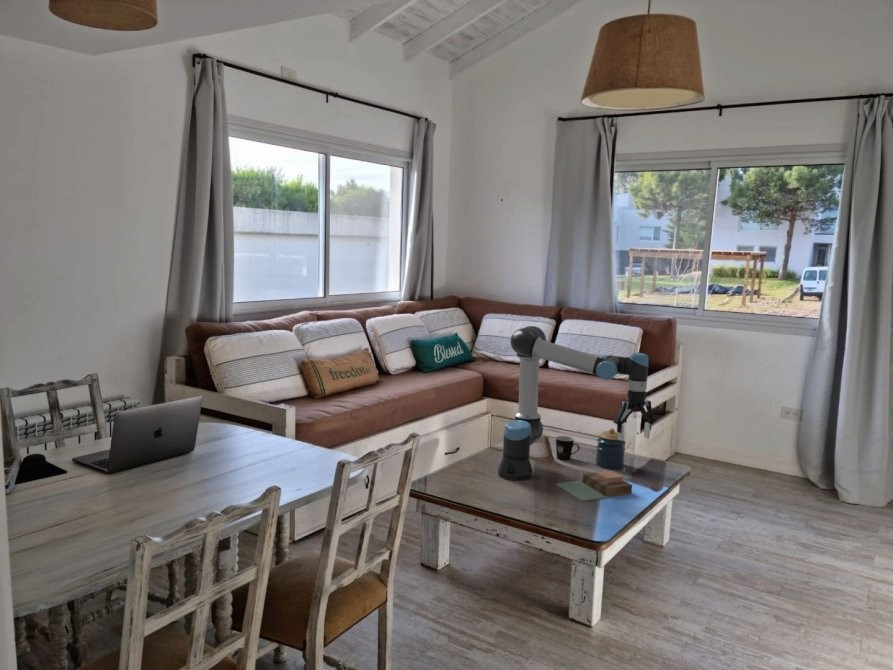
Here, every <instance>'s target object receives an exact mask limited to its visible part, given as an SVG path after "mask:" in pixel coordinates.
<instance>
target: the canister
mask: <svg viewBox="0 0 893 670" xmlns="http://www.w3.org/2000/svg"><path fill="white" fill-rule="evenodd" d="M598 436H599V437H598V438H597V439H596V441H597V445H596V453H595V454H596V456H595V457H596V458H595V465H596V466H598V467H600V468H603V469H607V470H620V469H621V468H623V467H624V463H625V461H624V460H625V451H626V448H625V444H626V440H624V438H625V436H624V435H623V441H621V440H618V432H617V431H615V429H614V428H610V429H608V430H605V431H603V432H601V433H599V434H598Z"/></svg>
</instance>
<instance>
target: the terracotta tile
mask: <svg viewBox="0 0 893 670" xmlns="http://www.w3.org/2000/svg"><path fill="white" fill-rule="evenodd" d="M596 477H597V478H599V479H601V480H602V481H604V482H606V483H612V482H620V481H623V480H624V476H623V475H622V474H619V473H617V472H616V471H613V470H604V471H603V470H602V471H596Z"/></svg>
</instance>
